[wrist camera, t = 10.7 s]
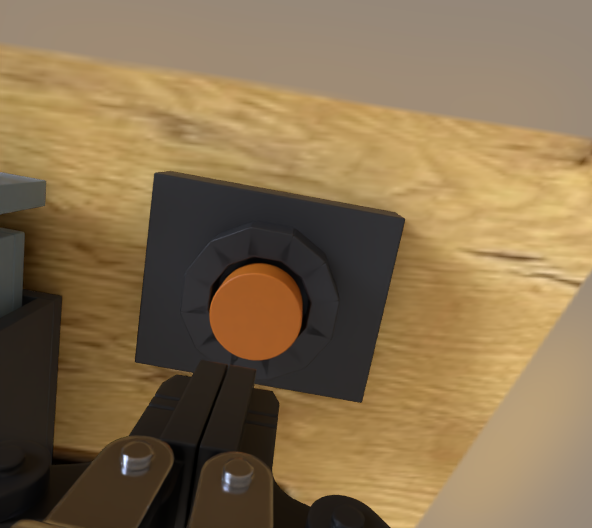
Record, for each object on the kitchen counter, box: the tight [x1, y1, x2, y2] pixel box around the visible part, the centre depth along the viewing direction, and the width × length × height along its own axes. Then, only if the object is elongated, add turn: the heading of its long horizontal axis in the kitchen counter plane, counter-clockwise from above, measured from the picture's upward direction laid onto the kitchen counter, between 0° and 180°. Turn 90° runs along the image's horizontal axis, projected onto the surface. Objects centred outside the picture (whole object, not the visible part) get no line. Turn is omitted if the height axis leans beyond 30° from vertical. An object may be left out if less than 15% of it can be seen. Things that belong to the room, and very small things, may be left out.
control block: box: [135, 171, 405, 403], centre depth 21 cm, size 11×9×4 cm
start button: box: [209, 263, 303, 360], centre depth 18 cm, size 4×4×2 cm
